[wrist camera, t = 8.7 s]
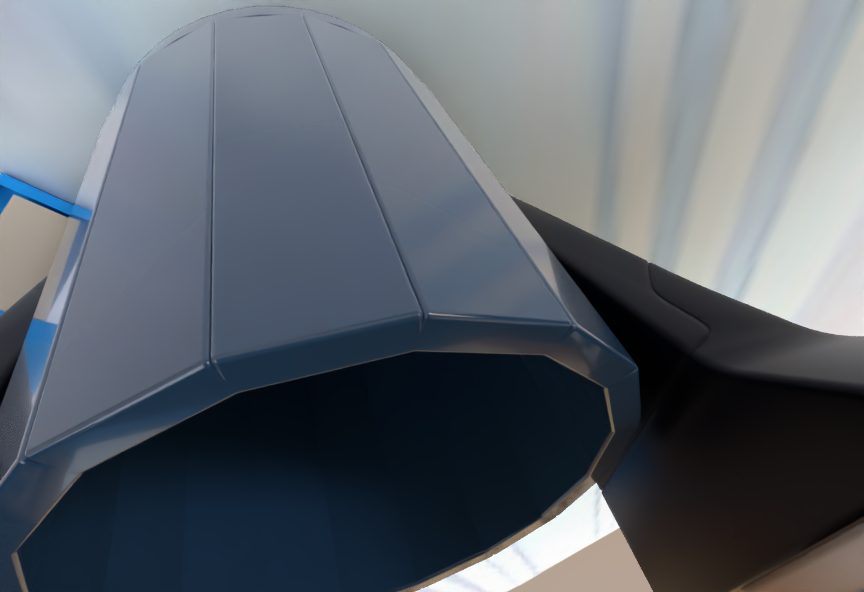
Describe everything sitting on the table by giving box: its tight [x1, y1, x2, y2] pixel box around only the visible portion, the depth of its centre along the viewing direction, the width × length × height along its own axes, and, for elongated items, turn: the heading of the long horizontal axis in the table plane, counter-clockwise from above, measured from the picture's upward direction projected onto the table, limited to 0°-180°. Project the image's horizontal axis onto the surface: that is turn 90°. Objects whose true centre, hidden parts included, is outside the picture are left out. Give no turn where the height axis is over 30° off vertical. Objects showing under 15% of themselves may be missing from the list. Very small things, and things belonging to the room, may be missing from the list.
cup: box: [0, 6, 641, 592], centre depth 8 cm, size 7×7×8 cm
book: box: [0, 173, 74, 315], centre depth 18 cm, size 17×4×25 cm
